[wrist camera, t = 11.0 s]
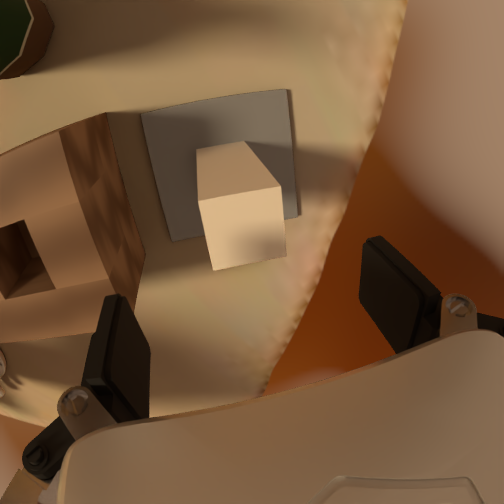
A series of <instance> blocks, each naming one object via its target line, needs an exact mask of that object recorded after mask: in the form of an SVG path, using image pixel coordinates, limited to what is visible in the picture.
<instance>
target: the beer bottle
mask: <svg viewBox="0 0 504 504" xmlns="http://www.w3.org/2000/svg"><path fill="white" fill-rule="evenodd" d="M53 28H54V24H53V22H52V20H51V18H50V15H49V13H48V11H47V9H46V6H45V4H44V3H43V2H41V1H39V0H0V80H1V79H10V78H15V77H20V76H21V75H22V74H23V73H24V72H25V71H26V70H28V69H29V68H30V67H31V66H32V65H33V64H35V63H36V62H37V61H38V60H40V59H41V58H42V57H43V56H44V54H45V51H46V47H47V45H48V42H49V39H50V36H51V33H52V30H53Z"/></svg>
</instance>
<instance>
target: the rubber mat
mask: <svg viewBox="0 0 504 504" xmlns="http://www.w3.org/2000/svg"><path fill="white" fill-rule="evenodd" d="M141 119H142V123H143V128H144V133H145V137H146V142H147V146H148V151H149V155H150V159H151V163H152V168H153V172H154V176H155V180H156V184H157V188H158V192H159V196H160V200H161V203H162V207H163V211H164V215H165V218H166V222H167V226H168V229H169V233H170V236H171V240H172V242H174V241H179V240H184V239H189V238H194V237H199V236H204V235H205V232H204V227H203V222H202V218H201V213H200V208H199V203H198V188H197V155H196V149H201V148H206V147H211V146H217V145H223V144H228V143H234V142H241V141H244V142H245V143H246V144H247V145H248V146H249V147H250V149H251V150H252V151H253V152H254V154H255V155H256V156H257V157H258V158H259V160H260V161H261V162H262V163H263V164H264V166H265V167H266V168H267V169H268V171H269V172H270V173H271V174H272V176H273V177H274V178H275V179H276V181H277V182H278V183H279V184H280V186H281V192H282V203H283V215H284V220H286V219H291V218H296V217H298V212H297V198H296V184H295V172H294V160H293V149H292V138H291V128H290V118H289V109H288V100H287V91H286V89H279V90H269V91H260V92H252V93H244V94H237V95H230V96H224V97H218V98H212V99H206V100H201V101H196V102H191V103H186V104H181V105H176V106H172V107H167V108H163V109H159V110H155V111H151V112H147V113H143V114H141Z"/></svg>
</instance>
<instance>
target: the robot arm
mask: <svg viewBox="0 0 504 504" xmlns="http://www.w3.org/2000/svg"><path fill="white" fill-rule="evenodd" d="M440 294H441V292H440V291H439V290H438V289H437V288H436V287H435V286H434V285H433V284H432V283H431V282H430V281H429V280H428V279H427V278H426V277H425V276H424V275H423V274H422V273H421V272H420V271H419V270H418V269H417V268H416V267H415V266H414V265H413V264H412V263H410V262H409V261H408V260H407V259H406V258H405V257H404V256H403V255H402V254H401V253H399V251H398V250H396V249H395V248H394V247H393V246H392V245H391V244H390V243H389V242H387V241H386V240H385V239H384V238H383V237H382V236H376V237H372V238H368V239H367V240H366V243H364V244H363V250H362V265H361V276H360V288H359V300H360V303H361V304H362V306H363V307H364V308H365V310H366V311H367V312H368V314H369V315H370V317H371V318H372V320H373V321H374V322H375V324H376V325H377V327H378V328H379V330H380V331H381V332H382V334H383V335H384V337H385V338H386V340H387V341H388V342H389V344H390V345H391V347H392V348H393V350H394V351H395V353H396V354H395V355H393V356H390V357H388V358H385V359H383V360H380V361H377V362H375V363H372V364H369V365H367V366H364V367H361V368H358V369H355V370H352V371H349V372H346V373H343V374H340V375H338V376H334V377H331V378H328V379H325V380H321V381H318V382H315V383H311V384H308V385H305V386H301V387H298V388H294V389H290V390H287V391H283V392H279V393H275V394H271V395H268V396H263V397H259V398H255V399H251V400H246V401H242V402H237V403H233V404H228V405H223V406H218V407H213V408H208V409H202V410H196V411H190V412H185V413H179V414H173V415H166V416H159V417H152V418H149V387H150V355H151V352H150V347H149V344H148V342H147V340H146V338H145V336H144V334H143V332H142V330H141V328H140V326H139V324H138V322H137V320H136V317H135V315H134V313H133V311H132V309H131V307H130V304H129V302H128V300H127V298H126V297H125V296H121V294H119V293H118V294H113V295H108V296H105V298H104V301H103V305H102V309H101V312H100V316H99V320H98V324H97V328H96V332H95V333H93V335H92V337H91V341H90V346H89V350H88V354H87V358H86V363H85V368H84V372H83V377H82V382H81V386H74V387H71V388H69V389H68V390H66V391H65V392H64V393H63V394H62V395H61V397H60V398H59V401H58V404H57V411H58V413H59V417H58V418H57V419H55V420H54V421H53V422H52V423H51V424H50V425H49V426H48V427H47V428H45V429H44V430H43V431H42V432H41V433H40V434H39V435H38V436H37V437H36V438H34V439H33V440H32V441H31V442H30V443H29V444H28V445H27V446H26V447H25V449H24V452H23V456H22V461H23V465H24V468H23V469H22V470H20V469H18V471H17V472H16V474H15V476H14V477H13V479H12V481H11V482H10V484H9V486H8V487H7V489H6V491H5V493H4V494H3V496H2V498H1V500H0V504H504V319H502V318H498V317H493V316H489V315H485V314H481V313H477V312H476V307H475V304H474V303H473V301H471V300H470V299H469V298H467V297H466V296H464V295H460V294H450V295H447V296H446V297H444V298H443V297H442V296H441V295H440ZM5 370H6V360H5V358H4V355H3V353H2V352H1V350H0V377H2V376H3V375H4V373H5ZM4 394H5V391H4V390H3V389H2V387H1V386H0V399H1V397H2V396H4Z"/></svg>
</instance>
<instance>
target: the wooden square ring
mask: <svg viewBox="0 0 504 504" xmlns="http://www.w3.org/2000/svg"><path fill="white" fill-rule="evenodd" d="M145 255H146V254H145V251H144V248H143V245H142V242H141V239H140V236H139V233H138V230H137V227H136V224H135V221H134V218H133V214H132V211H131V208H130V204H129V201H128V198H127V194H126V191H125V187H124V184H123V180H122V177H121V173H120V169H119V165H118V162H117V158H116V154H115V150H114V146H113V142H112V138H111V133H110V129H109V125H108V120H107V116H106V112H105V113H102V114H99V115H96V116H93V117H90V118H87V119H84V120H81V121H78V122H75V123H73V124H70V125H67V126H65V127H62V128H59V129H57V130H54V131H52V132H49V133H47V134H44V135H42V136H40V137H37V138H35V139H33V140H30V141H28V142H26V143H24V144H21V145H19V146H17V147H15V148H13V149H11V150H9V151H6V152H4V153H2V154H0V343H8V342H18V341H28V340H37V339H45V338H53V337H61V336H69V335H77V334H84V333H91V332H96V328H97V324H98V320H99V316H100V312H101V309H102V305H103V301H104V298H105V296H108V295H113V294H118V293H119V294H121V296H125V297H126V298H127V300H128V302H129V304H130V307H131V309H132V311H133V313H134V309H135V304H136V298H137V293H138V288H139V283H140V278H141V273H142V269H143V264H144V260H145Z"/></svg>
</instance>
